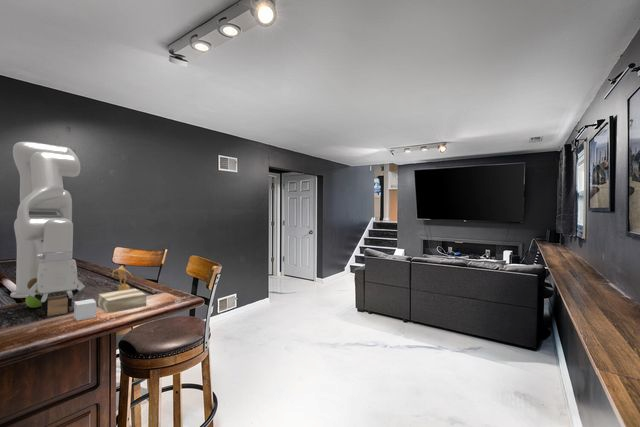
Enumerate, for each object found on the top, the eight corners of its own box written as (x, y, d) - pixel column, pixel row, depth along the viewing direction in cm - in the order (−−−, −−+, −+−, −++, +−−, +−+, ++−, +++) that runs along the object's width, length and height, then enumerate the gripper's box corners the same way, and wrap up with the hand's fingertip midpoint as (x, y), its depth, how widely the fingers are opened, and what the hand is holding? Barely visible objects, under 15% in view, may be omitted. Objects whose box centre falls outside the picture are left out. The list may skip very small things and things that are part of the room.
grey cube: (73, 317, 102) (74, 301, 102) (92, 313, 105) (93, 298, 105) (76, 321, 98) (77, 305, 98) (96, 317, 102) (96, 302, 102)
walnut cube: (45, 312, 105) (46, 297, 105) (65, 309, 108) (65, 294, 108) (47, 316, 101) (48, 300, 101) (67, 313, 105) (67, 298, 105)
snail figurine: (53, 305, 112) (53, 272, 112) (31, 310, 106) (32, 275, 106) (43, 303, 114) (43, 270, 114) (21, 308, 108) (22, 273, 108)
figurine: (136, 292, 132) (137, 264, 132) (128, 296, 126) (129, 266, 126) (116, 292, 132) (117, 263, 132) (107, 296, 126) (108, 266, 125)
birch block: (97, 306, 114) (98, 294, 114) (134, 299, 123) (134, 288, 123) (108, 314, 106) (108, 300, 106) (146, 306, 115) (146, 294, 115)
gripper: (23, 260, 96) (22, 320, 96) (91, 256, 108) (90, 308, 108) (22, 257, 101) (20, 313, 101) (87, 253, 113) (85, 303, 113)
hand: (56, 310), depth 105 cm, fingers closed on walnut cube, 5 cm apart
